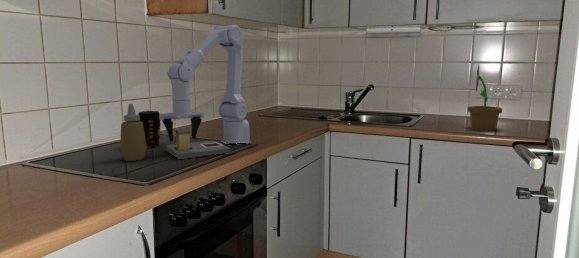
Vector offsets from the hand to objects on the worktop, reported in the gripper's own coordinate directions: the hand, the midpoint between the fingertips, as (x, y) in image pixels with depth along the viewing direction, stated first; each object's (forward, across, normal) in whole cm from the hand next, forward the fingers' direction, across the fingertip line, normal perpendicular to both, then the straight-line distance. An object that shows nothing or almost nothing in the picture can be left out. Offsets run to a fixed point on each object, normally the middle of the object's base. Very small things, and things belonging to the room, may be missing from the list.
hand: (182, 139), depth 142 cm
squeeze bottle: (+5, +16, 0) cm, 17 cm away
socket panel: (+5, -5, 0) cm, 7 cm away
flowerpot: (+5, -135, +18) cm, 136 cm away
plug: (+5, 0, 0) cm, 5 cm away
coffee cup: (+5, +7, -18) cm, 20 cm away
